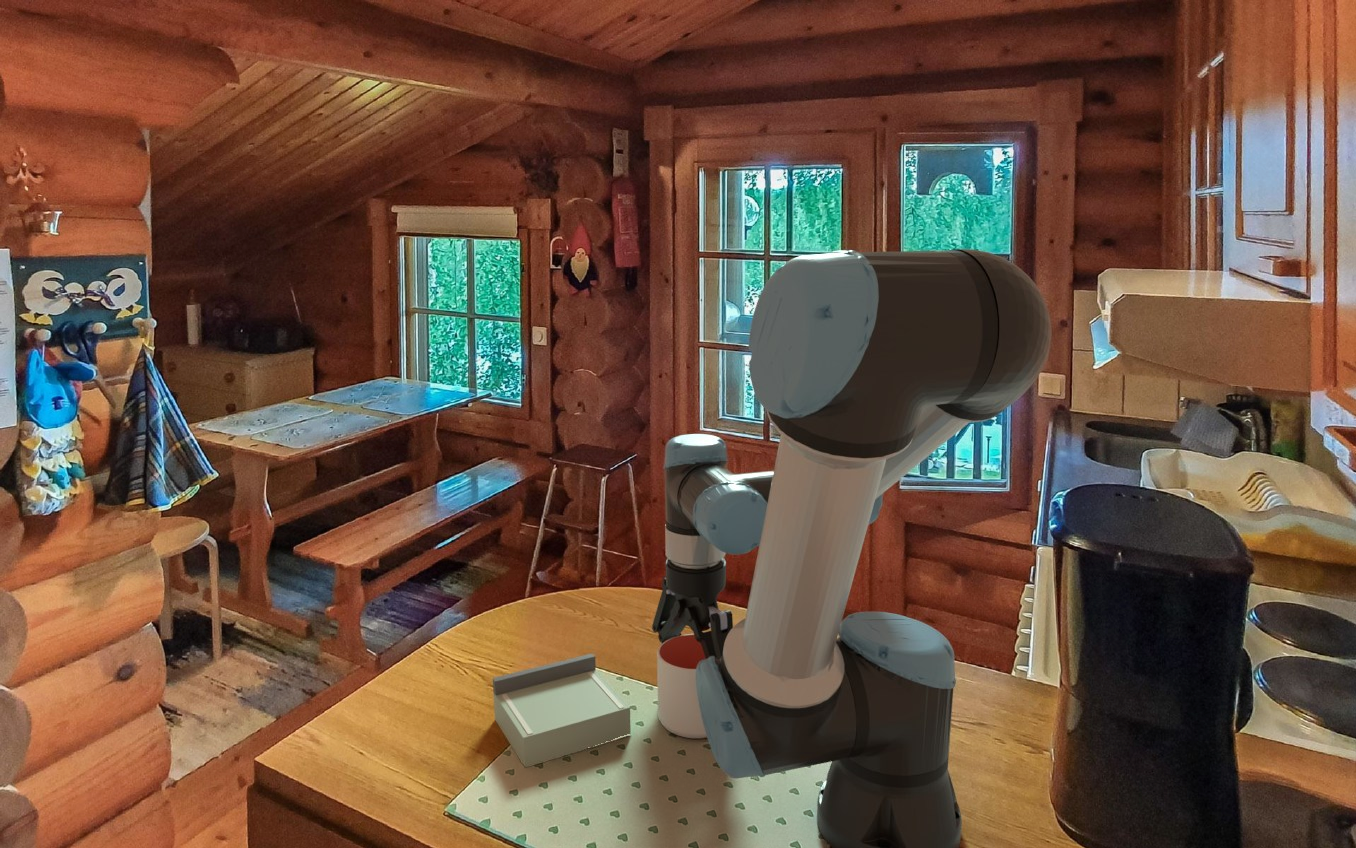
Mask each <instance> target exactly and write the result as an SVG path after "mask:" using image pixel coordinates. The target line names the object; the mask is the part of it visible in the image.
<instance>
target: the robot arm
mask: <svg viewBox="0 0 1356 848" xmlns="http://www.w3.org/2000/svg"><path fill="white" fill-rule="evenodd" d="M755 305H756V306H755V308H754V312H753V315H752V318H751V324H750V330H749V334H748V335H749V336H748V337H749V338H748V350H749V351H750V352H751V357H750V360H749V361H748V365H749V370H748V371H749V374H750V375H749V377H750V381H751V385H752V389H753V391H754V393H755V397H756V398H757V400H758V402H759V404H760V405H761V406H762V407H763V408H764V410H766V413H767V417H768V420H769V421H770V424H771V425H772V426H773V427H774V429H775V430H776V431H777V432H778V433H779V434H780V438H779V442H778V449H777V454H776V458H775V463H774V468H773V470H767V471H766V470H763V471H755V472H744V473H733V472H732V471H730V470H729V469H728V468H727V467H728V466H727V464H728V462H729V457H728V453H727V444H726V442H725V440H724V439H722V438H721V437H718V436H715V435H713V434H706V433H705V434H704V433H692V434H691V433H690V434H680V435H677V436H674V437H672V438H670V439H668V441H667V442H666V444H665V453H664V464H663V470H664V498H665V499H664V501H665V502H664V503H665V504H664V506H665V508H664V509H665V526H664V528H665V531H664V532H665V534H664V535H665V538H664V539H665V540H664V541H665V546H664V547H665V557H666V558H667V559H666V561H665V577H663V578H662V586H661V587H662V588H661V593H660V594H661V595H660V597H659V601H658V604H657V608H656V611H655V614H654V618H653V621H652V625H651V626H652V627H651V628H652V631H653V632H654V633H656V634H657V633H658V635H657V637H658V642H660V643H661V644H662V643H664V642H665V641H667V640H669V639H671V638H673V637H677V636H681V635H682V632H683V630H684V629H685V628H686V626H687V627H689V628H690V629H691V631H692V632H693V633H692V634H694V636H695V639H696V640H697V641H698V642H700V643H701V645H702V648H703V651H704V654H705V657H706V659H704V660H701V661H700V662H699V663H698V665H697V668H696V687H697V695H698V701H699V707H700V712H701V716H702V720H703V724H704V728H705V731H706V735H707V742H708V744H709V747H710V749H711V752H712V755H713V757H714V759H715V761H716V763H717V765H718V766H719V768H720V769H721V771H722V772H723V773H724V774H725V775H726V776H728V777H731V778H732V779H744V778H750V777H751V778H752V777H757V776H758V777H759V778H763V777H765V776H767V775H768V776H769V775H773V774H778V773H783V772H788V771H792V770H797V769H802V768H806V767H811V766H816V765H821V764H825V763H831V764H830V766H829V768H828V772H827V775H826V779H825V781H824V782H823V783H822V786H821V788H820V790H819V793H818V796H817V807H816V809H817V810H816V813H817V814H816V823H817V827H818V830H819V832H820V834H821V835H822V838H823V839H824V840H825V842H826V843H827V844H828V845H829V846H830V847H831V848H960V845H961V841H962V840H961V838H962V824H963V823H962V821H963V820H962V813H961V810H960V806H959V803H958V801H957V796H956V792H955V789H954V785H953V781H952V778H951V775H950V772H949V759H950V756H949V755H950V745H951V744H950V743H951V730H952V714H953V699H954V689H955V688H956V683H957V679H956V669H955V652H954V648H953V646H952V644H951V643H950V641H949V640H948V639H947V638H946V637H945V636H944V635H943V634H942V632H940V631H939V630H938V629H935V628H934V627H932V626H931V625H928V624H926V623H924V622H923V621H921V620H918V619H914V618H912V617H908V616H904V615H902V614H897V613H891V612H885V611H869V610H868V611H860V612H858V611H857V612H854V613H851V614H848V615H847V616H846V617H845V618H843V617H844V613H845V610H846V607H847V602H848V600H849V596H850V592H851V588H852V585H853V582H854V577H855V574H856V570H857V567H858V563H859V559H860V556H861V553H862V548H863V545H864V542H865V537H866V534H867V532H868V531H867V530H868V528H869V525H871V524H872V523H874V522H875V521H876V520H877V519H878V518H879V516H880V510H881V509H882V508H883V507H882V506H883V497H884V496H883V494H884V493H885V492H886V491H888V489H889V488H891V487H892V486H894V485H895V484H896V483H898V481H900V480H901V479H903V477H904V476H906V475H907V474H908V473H910V472H911V471H912V470H914V468H916V467H917V466H918V465H919V464H920V463H922V462H923V461H924V460H926V459H927V458H928V457H929V456H930V455H932V454H933V453H934V452H935V451H936V450H938V449H939V448H940V447H941V446H942V445H944V444H945V443H946V442H947V441H949V440H950V439H951V438H952V437H953V436H954V435H956V434H957V433H959V432H960V431H961V430H962V429H964V428H965V427H966V426H967V425H969V423H980V422H987V421H988V420H991V419H993V418H995V417H997V416H998V415H1000V414H1001V413H1003V412H1004V411H1005V410H1006V409H1007V408H1009V407H1010V406H1012V405H1013V404H1014V403H1015V402H1017V401H1018V399H1019V398H1021V397H1022V396H1023V395H1024V394H1025V393H1026V392H1027V391H1028V389H1030V388H1031V386H1033V384H1034V383H1035V381H1036V380H1037V378H1038V377H1039V375H1040V374H1041V372H1042V370H1043V368H1044V366H1045V365H1046V362H1047V359H1048V357H1049V353H1050V348H1051V341H1052V324H1051V316H1050V312H1049V309H1048V306H1047V303H1046V300H1045V298H1044V296H1043V295H1042V293H1041V291H1040V289H1039V287H1038V286H1037V285H1036V283H1035V282H1034V280H1032V278H1031V277H1030V276H1029V275H1028V274H1027V273H1026V272H1024V271H1023V270H1022V269H1021V268H1020V267H1019V266H1018V265H1015V263H1012V262H1011V261H1009V260H1008V259H1006V258H1005V257H1002V256H1000V255H997V254H994V253H992V252H989V251H984V250H977V249H970V248H960V249H959V248H957V249H954V248H953V249H949V250H907V251H906V250H905V251H903V250H902V251H901V250H900V251H898V250H897V251H859V252H858V251H856V250H852V249H840V250H833V251H830V252H828V253H820V254H805V255H800V256H797V257H794V258H791V259H790V260H788V261H786V262H785V264H784V265H782V266H780V267H779V268H777V269H776V270H775V271H774V272H773V274H772V275H771V276H770V277H769V279H768V280H767V281H766V283H765V284H764V286H763V288H762V290H761V292H760V294H759V296H758V300H757V302H756V304H755ZM757 547H758V550H757V558H756V561H755V567H754V570H753V571H754V572H753V577H752V580H751V581H752V582H751V587H750V593H749V598H748V603H747V608H746V613H745V618H743V619H742V620H740V621H739V622H738V623H735V625H734V623H733V621H734V619H733V613H732V611H731V610H730V609H727V610H720V609H719V605H718V600H717V597H718V596H719V594H720V593H722V591H723V590H724V589H725V588H726V584H727V583H726V582H727V581H726V580H727V578H726V577H727V570H726V569H727V567H726V566H727V562H726V559H725V557H726V554H729V555H734V556H735V555H744V554H748V553H749V552H751V551H752V550H754V549H756V548H757ZM838 636H839V637H838Z"/></svg>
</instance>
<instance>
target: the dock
mask: <svg viewBox="0 0 1356 848" xmlns="http://www.w3.org/2000/svg"><path fill="white" fill-rule="evenodd" d="M596 665H597V664H596V655H595V654H594V653H589V654H584V655H581V656H577V657H571V658H568V659H565V660H560V661H556V662H552V663H548V664H544V665H540V666H536V667H532V668H528V669H525V670H524V669H523V670H520V671H515V672H513V673H508V674H504V675H500V676H496V677H492V691H493V707H494V720H495V722H496V724H497V725H498V727H499V728H500V730H501V731H502V733H503V734H504V735H503V736H504V737H505V738H506V740H507V741H508V743H509V745H510V746H511V747H512V749H513V751H514V752H515V755H517V757H518V759H519V760H520V762H521V763H522V766H523V767H524V768H528V767H531V766H535V765H538V764H543V763H544V762H548V761H551V760H552V761H553V760H555V759H558V758H562V757H565V756H568V755H571V753H572V754H575V753H578V752H577V751H579V752H581V751H580V750H582V751H585V750H587V749H586V748H588V747H592V748H594V747H593V746H595V745H598V744H601V743H605V742H606V741H611V740H613V739H615V738H618V737H620V736H624V735H627V734H631V707H630V706H629V705H628V703H626V701H625V700H624V699H623V698H622V697H621V695H620V694H618V693H617V692H616V690H615V689H614V688H613V687H612V685H610V684H609V682H608V681H606V679H605V678H604V677H603V676H602V675H601V673H599V672H598V670H597V669H596ZM631 735H632V734H631ZM605 744H606V743H605ZM595 747H596V746H595ZM584 749H585V750H584ZM564 755H565V756H564Z"/></svg>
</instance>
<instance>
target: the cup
mask: <svg viewBox="0 0 1356 848" xmlns="http://www.w3.org/2000/svg"><path fill="white" fill-rule="evenodd" d="M704 659H706V657H705V654H704V651H703V648H702V645H701V643H700V642H698V641H697V640H696V639H695V636H694V633H690V634H687V633H686V634H681V635H680V636H677V637H673V638H671V639H669V640H667V641H665V642H664V643H662V642H661V644H660V645H659V646H658V648H657V651H656V661H657V662H656V663H657V664H656V665H657V666H656V670H657V673H656V674H657V676H656V677H657V683H656V684H657V715H658V719H659V722H660V723H661V724H662V726H663V728H665V729H666V730H667V731H669V732H670V733H672V734H674V735H676V736H679V737H683V738H686V739H687V738H689V739H705V738H707V735H706V731H705V728H704V724H703V720H702V716H701V712H700V707H699V701H698V695H697V687H696V668H697V665H698V663H699V662H700V661H701V660H704ZM707 739H708V738H707Z"/></svg>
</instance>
